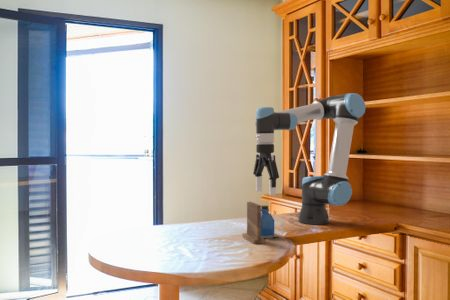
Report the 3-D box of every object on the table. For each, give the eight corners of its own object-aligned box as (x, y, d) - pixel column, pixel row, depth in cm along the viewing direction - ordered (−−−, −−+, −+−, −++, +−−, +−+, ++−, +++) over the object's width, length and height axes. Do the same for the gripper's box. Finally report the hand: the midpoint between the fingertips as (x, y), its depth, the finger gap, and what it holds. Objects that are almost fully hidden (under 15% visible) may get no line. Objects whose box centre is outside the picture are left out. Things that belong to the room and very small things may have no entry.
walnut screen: (253, 236, 168) (253, 201, 168) (265, 243, 157) (265, 205, 156) (242, 237, 166) (242, 201, 166) (253, 244, 155) (254, 206, 155)
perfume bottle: (260, 236, 165) (260, 207, 165) (255, 232, 171) (255, 205, 171) (274, 235, 167) (274, 206, 167) (268, 231, 173) (268, 204, 173)
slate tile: (269, 232, 175) (269, 230, 175) (278, 237, 166) (279, 235, 166) (250, 234, 172) (250, 232, 172) (259, 239, 163) (259, 237, 163)
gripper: (245, 143, 179) (246, 190, 179) (270, 143, 155) (270, 197, 156) (260, 143, 181) (261, 189, 182) (287, 143, 158) (287, 196, 158)
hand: (265, 193), depth 169 cm, fingers open, 13 cm apart
